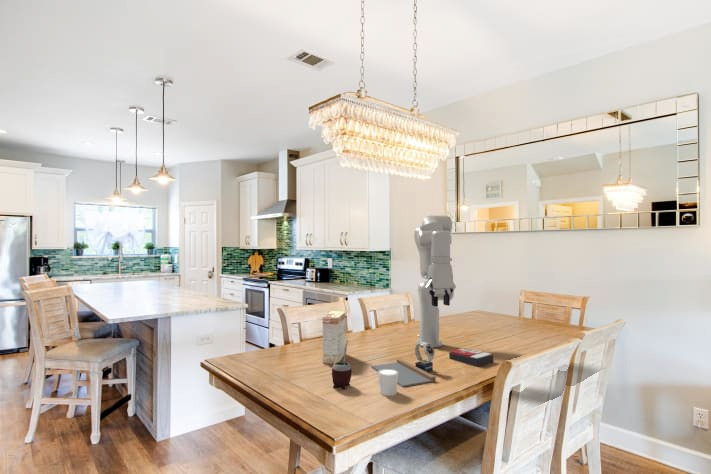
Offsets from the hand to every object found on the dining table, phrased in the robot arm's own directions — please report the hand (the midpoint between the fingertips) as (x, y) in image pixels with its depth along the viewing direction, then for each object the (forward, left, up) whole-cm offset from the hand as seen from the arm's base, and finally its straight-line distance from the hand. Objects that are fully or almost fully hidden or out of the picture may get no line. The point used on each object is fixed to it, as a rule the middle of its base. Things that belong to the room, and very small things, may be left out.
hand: (440, 305), depth 159 cm
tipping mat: (0, -18, -25) cm, 31 cm away
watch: (0, -8, -26) cm, 27 cm away
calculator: (-3, +18, -26) cm, 32 cm away
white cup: (+14, -33, -26) cm, 44 cm away
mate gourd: (+2, -45, -26) cm, 51 cm away
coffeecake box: (-30, -35, -26) cm, 52 cm away
